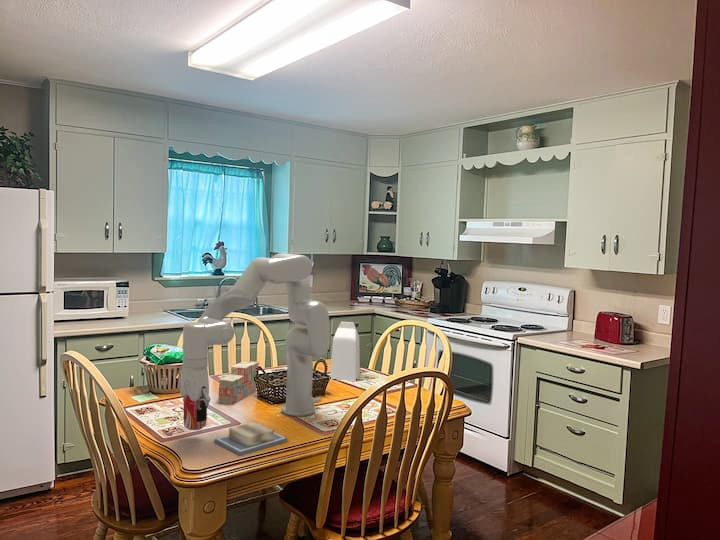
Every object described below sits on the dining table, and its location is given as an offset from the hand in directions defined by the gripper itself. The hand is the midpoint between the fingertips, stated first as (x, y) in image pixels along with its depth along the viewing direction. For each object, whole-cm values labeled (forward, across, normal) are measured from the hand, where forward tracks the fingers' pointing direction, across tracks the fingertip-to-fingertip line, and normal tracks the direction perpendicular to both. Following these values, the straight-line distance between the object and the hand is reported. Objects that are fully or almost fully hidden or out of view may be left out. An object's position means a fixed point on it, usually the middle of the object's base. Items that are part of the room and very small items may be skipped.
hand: (195, 417), depth 177 cm
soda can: (+4, 0, 0) cm, 4 cm away
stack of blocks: (+8, -30, +36) cm, 48 cm away
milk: (+9, -25, +91) cm, 95 cm away
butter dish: (+7, +13, +12) cm, 19 cm away
